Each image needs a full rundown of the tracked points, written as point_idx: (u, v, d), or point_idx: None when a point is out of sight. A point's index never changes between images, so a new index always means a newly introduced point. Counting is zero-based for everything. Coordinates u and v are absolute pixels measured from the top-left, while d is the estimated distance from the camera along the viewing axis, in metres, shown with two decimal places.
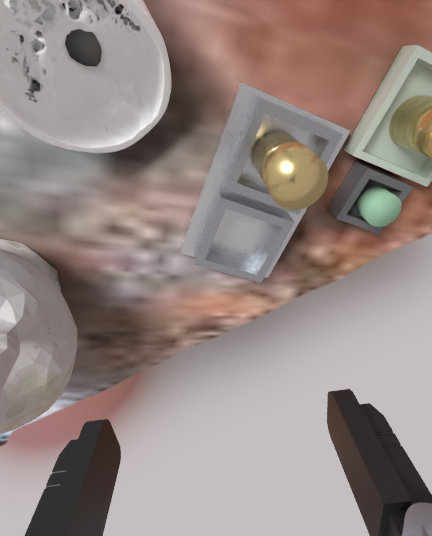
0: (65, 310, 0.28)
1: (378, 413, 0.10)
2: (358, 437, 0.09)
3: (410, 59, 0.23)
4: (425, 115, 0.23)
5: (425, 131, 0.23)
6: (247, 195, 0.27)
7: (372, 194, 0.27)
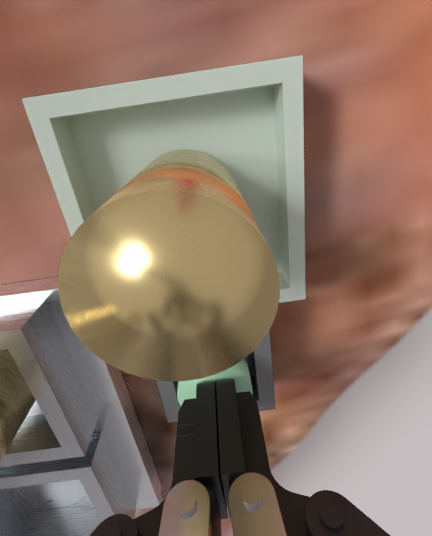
0: None
1: (253, 399, 0.11)
2: (223, 419, 0.10)
3: (36, 131, 0.09)
4: None
5: None
6: None
7: None
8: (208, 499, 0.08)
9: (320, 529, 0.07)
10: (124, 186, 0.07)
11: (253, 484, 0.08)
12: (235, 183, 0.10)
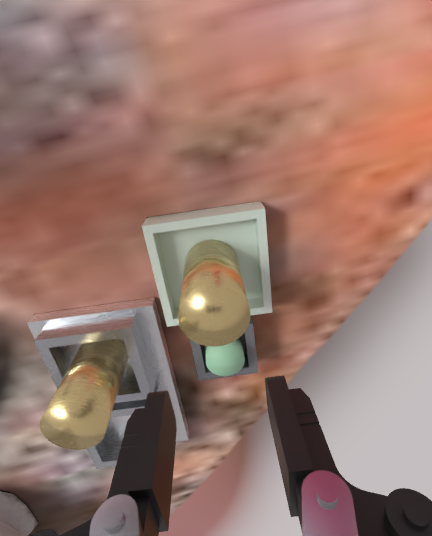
0: None
1: (305, 396, 0.11)
2: (280, 416, 0.10)
3: (146, 238, 0.21)
4: (181, 289, 0.20)
5: None
6: None
7: (207, 347, 0.25)
8: (136, 507, 0.08)
9: (400, 522, 0.07)
10: (195, 275, 0.18)
11: (330, 484, 0.08)
12: (235, 261, 0.21)
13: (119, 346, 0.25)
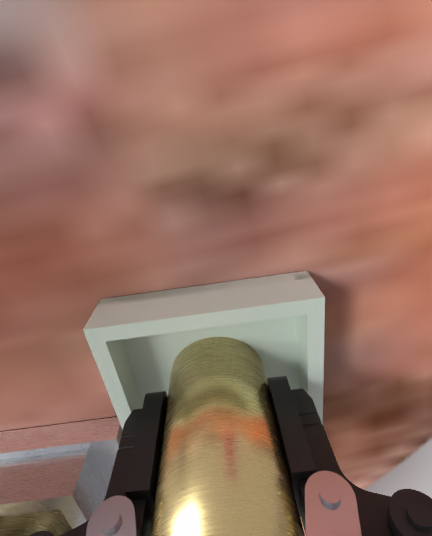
0: None
1: (308, 397, 0.11)
2: (283, 417, 0.10)
3: (93, 349, 0.11)
4: (159, 463, 0.10)
5: None
6: None
7: None
8: (133, 508, 0.08)
9: (403, 522, 0.07)
10: (185, 472, 0.08)
11: (333, 484, 0.08)
12: (265, 391, 0.11)
13: None
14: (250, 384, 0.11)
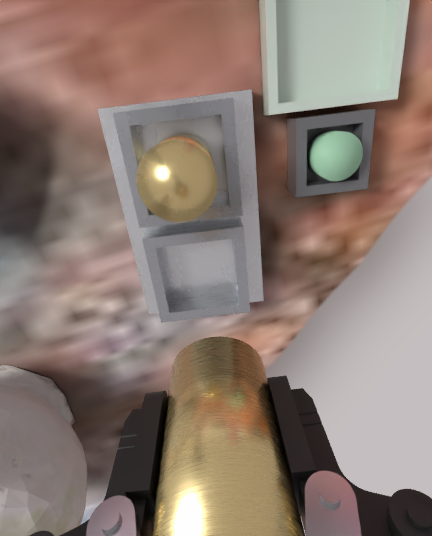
0: (44, 426, 0.25)
1: (308, 397, 0.11)
2: (283, 417, 0.10)
3: None
4: None
5: None
6: (168, 222, 0.22)
7: (315, 145, 0.20)
8: (133, 508, 0.08)
9: (403, 522, 0.07)
10: (186, 472, 0.08)
11: (334, 485, 0.08)
12: (265, 391, 0.11)
13: (207, 146, 0.21)
14: (251, 384, 0.11)
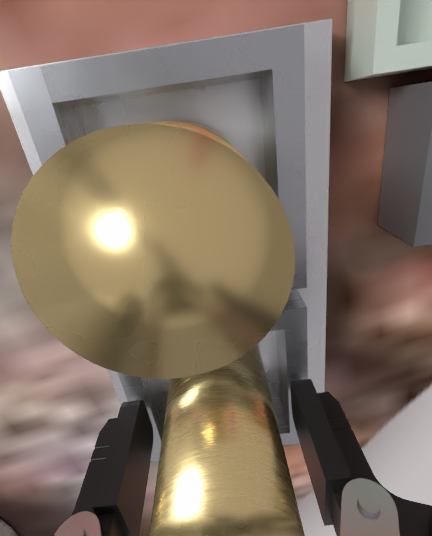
0: None
1: (334, 400, 0.11)
2: (311, 422, 0.10)
3: None
4: None
5: None
6: None
7: None
8: (97, 521, 0.08)
9: None
10: (187, 439, 0.09)
11: (373, 494, 0.07)
12: (261, 372, 0.12)
13: None
14: (247, 365, 0.12)
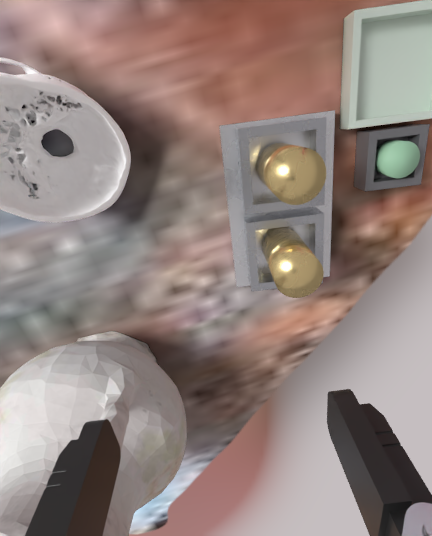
0: (160, 373, 0.31)
1: (378, 413, 0.10)
2: (358, 437, 0.09)
3: (354, 24, 0.24)
4: (268, 260, 0.28)
5: None
6: (267, 210, 0.28)
7: (382, 151, 0.27)
8: None
9: None
10: (284, 248, 0.27)
11: None
12: None
13: None
14: (300, 238, 0.29)
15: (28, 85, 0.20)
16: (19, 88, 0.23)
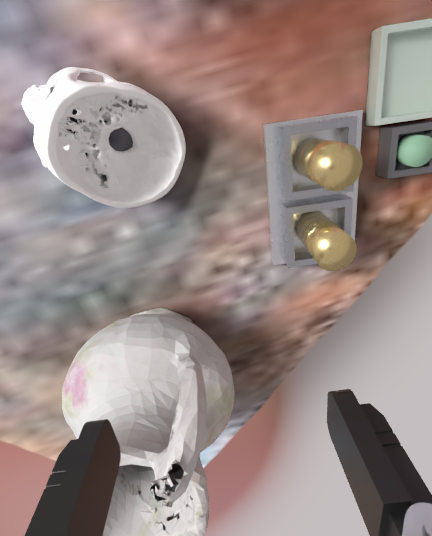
0: (211, 339, 0.36)
1: (378, 413, 0.10)
2: (358, 437, 0.09)
3: (382, 38, 0.28)
4: (306, 240, 0.33)
5: (309, 251, 0.33)
6: (305, 196, 0.33)
7: (402, 144, 0.32)
8: None
9: None
10: (322, 229, 0.31)
11: None
12: None
13: None
14: (332, 221, 0.34)
15: (118, 92, 0.24)
16: (100, 94, 0.27)
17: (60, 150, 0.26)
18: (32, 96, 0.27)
